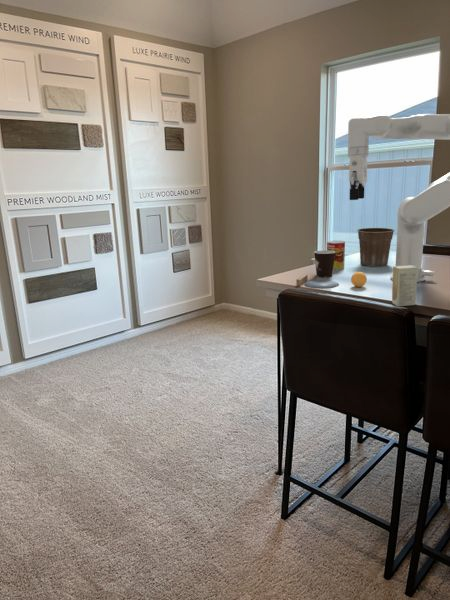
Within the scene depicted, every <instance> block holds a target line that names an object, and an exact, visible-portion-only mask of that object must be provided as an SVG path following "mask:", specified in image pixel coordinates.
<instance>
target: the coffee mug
mask: <svg viewBox="0 0 450 600" xmlns="http://www.w3.org/2000/svg"><path fill="white" fill-rule="evenodd" d="M313 253H314V261H315V262H314V263H315V272H316V277H319V278H329V277H330V276H331V277H332V276H333V272H334V270H333V265H334V258H335V251H327V250H318V251H317V250H315V251H314V252H313Z"/></svg>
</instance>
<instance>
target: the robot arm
mask: <svg viewBox="0 0 450 600" xmlns="http://www.w3.org/2000/svg"><path fill="white" fill-rule="evenodd" d="M347 130H348V131H347V158H349V167H348V168H349V171H348V181H349V198H348V199H349V200H350V201H358V200H360V199H365V184H367V182H368V160H367V159H368V158H367V157H369V151H370V150H369V147H370V146H369V144H370V137H373V138H374V139H382V140H386V139H387V140H389V139H390V140H403V139H404V140H441V141H443V140H445V141H446V140H448V141H450V113H441V114H438V113H421V114H416V115H411V116H408V117H389V116H388V115H387V114H378V115H372V116H368V117H367V116H366V117H365V116H360V117H359V116H358V117H352V118H351V119H349V121H348V129H347ZM449 207H450V172H448V173H446V174H445V175H443V176H441V177H439V178H438V179H436V180H435V181H433V182H431V183H430V184H429V185H428V186H427V188H426V189H425V190H423V191H422V192H420V193H419V194H417V195H416V196H409V197H406V198H404V199H403V200H402V201H401V202H400V203H399V205H398V207H397V233H396V249H395V250H396V251H395V264H394V266H406V265H413V266H415V267H417V283H419V282H424V281H425V280H426V276H427V277H434V276H435V275H434V274H435V271H434V270H433V271H431V270H425V269H423V267H422V266H423V265H422V264H423V253H424V252H423V249H424V239H425V222H426V221H428V220H431V218H433V217H435V216H437V215H438V214H440V213H442V212H444V211H445V210H446V209H448V208H449ZM390 280H392V281H393V274H391V275H390Z"/></svg>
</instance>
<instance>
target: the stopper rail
mask: <svg viewBox="0 0 450 600" xmlns="http://www.w3.org/2000/svg"><path fill="white" fill-rule="evenodd" d="M308 277H309V276H308V274H301V276H299V277H298V278H297V279H296V280H295V282H296V287H300V286H302V285H305V283H306V282H309V281H308Z"/></svg>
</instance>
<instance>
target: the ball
mask: <svg viewBox="0 0 450 600" xmlns="http://www.w3.org/2000/svg"><path fill="white" fill-rule="evenodd" d="M367 280H368V279H367V276H366V274H365V273H364V272H362V271H357V272H354V273H353V274H352V275H351V277H350V281H351V284H352V285H353V286H354V287H356V288H360V287H364V286H365V285H366V284H367Z"/></svg>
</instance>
